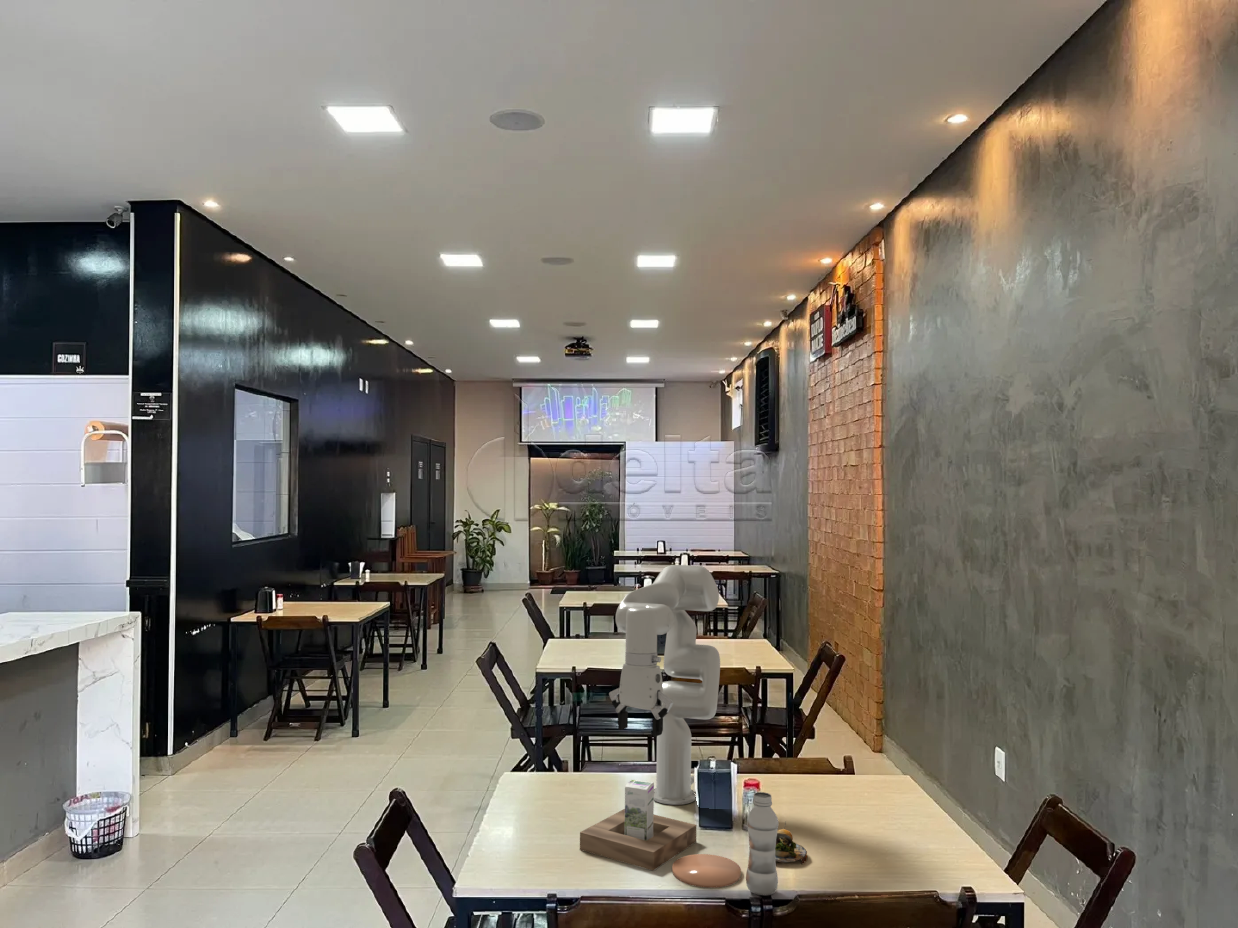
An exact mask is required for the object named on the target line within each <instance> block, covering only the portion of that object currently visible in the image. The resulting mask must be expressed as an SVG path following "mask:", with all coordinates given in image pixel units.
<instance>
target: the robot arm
mask: <svg viewBox="0 0 1238 928" xmlns="http://www.w3.org/2000/svg"><path fill="white" fill-rule="evenodd" d="M719 599H720V593H719V589H718V585H717V583H716V582H715V579H714V577H713V575H712V573H711V572H710V571H709V570H708V569H707V568H706V567H705V566H702V565H691V564H690V565H687V564H685V565H684V564H672V565H668V566H666V567H663V569H662V570H660V572H659V573H658V575H657V577H656V578H655V580H654V581H653V583H650V584H648V585H645V586H643V587H641V588H637V589H634V590H633V591H630V592H628V593H627V594H626V595H625V596H624V598H623V599H622V600H621V601H620V603H619V605H618V607H617V609H616V612H615V624H616V627H617V629H619V631H620V632H623V633H625V651H624V652H625V655H624V657H625V660H624V662H625V663H623V665H622V668H621V672H620V673H621V674H620V679H619V680H620V681H619V687H618V688H616V689H613V690H612V691H610V692H609V693H608V695H609V698H610V700H611V704H612V705H613V707H614V709H615V712H616V713H617V726H618V728H617V729H618V731H623V730H625V729H628V727H629V726H628V724H629V723H628V720H629V712H628V711H627V709H628V708H634V709H640V710H645V711H651V713H652V715H653V717H654V718H653V719H652V736H653V737H656V773H655V774H656V776H655V777H656V779H655V780H656V781H655V783H656V785H655V787H654V802H656V803H660V804H665V805H670V806H671V805H672V806H673V805H674V806H677V805H678V806H679V805H686V804H690V803H693V802H695V801H696V800H695V794H694V792H695V790H694V789H692V787H691V786H692V785H693V784H694V776H695V775H692V733H691V729H690V727H689V725H688V723H687V722H686V720H685V719H695V720H710V719H713V718H714V717H715V715H716V713H717V710H718V699H719V688H720V687H719V685H720V678H721V677H720V673H721V657H720V653H719V650H718V649H717V648H716V647H715V646H712V645H710V644H697V643H696V640H697V634H698V633H697V632H698V630H697V626H696V623H695V622H694V621H693V619H692V617H691V616H690V615H689V614H688V613H687V611H696V612H712V611H713V610H716V608H717V606H718V604H719ZM665 634H666V636H665V637H666V638H665V646H664V654H663V670H664V672H665V673H666V675H667V676H670V677H672V678H679V679H680V678H681V679H691V680H692V679H694V680H700V681H702V682H700V683H699V682H698V683H697V682H687V681H679V680H678V681H677V680H668V681H667V680H666V681H663V676H662V670H661V666H660V665H658V663H661V662H662V657H661V656H658V636H659V635H660V636H661V635H665ZM618 696H619V697H618ZM618 698H619V699H618ZM694 800H695V801H694Z"/></svg>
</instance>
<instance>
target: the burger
mask: <svg viewBox="0 0 1238 928" xmlns="http://www.w3.org/2000/svg"><path fill="white" fill-rule="evenodd" d="M786 822H787V821H785V824H784V826H786ZM793 838H794V836H793V834H792V833H791V831H790V830H787V829H786V827H784V828H782V829H781V828H780V829H778V831H777V837H776V848H775V859H776V862H779V863H792V862H793V863H795V862H797V861H799V860H801V862H800V864H801V865H804V864H805V863H806V862H807V858H808V854H807V853H808V851H807V850H806V848H805V847H804V846H802V845H801V844H798V843H796V842H794V840H793Z"/></svg>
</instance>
